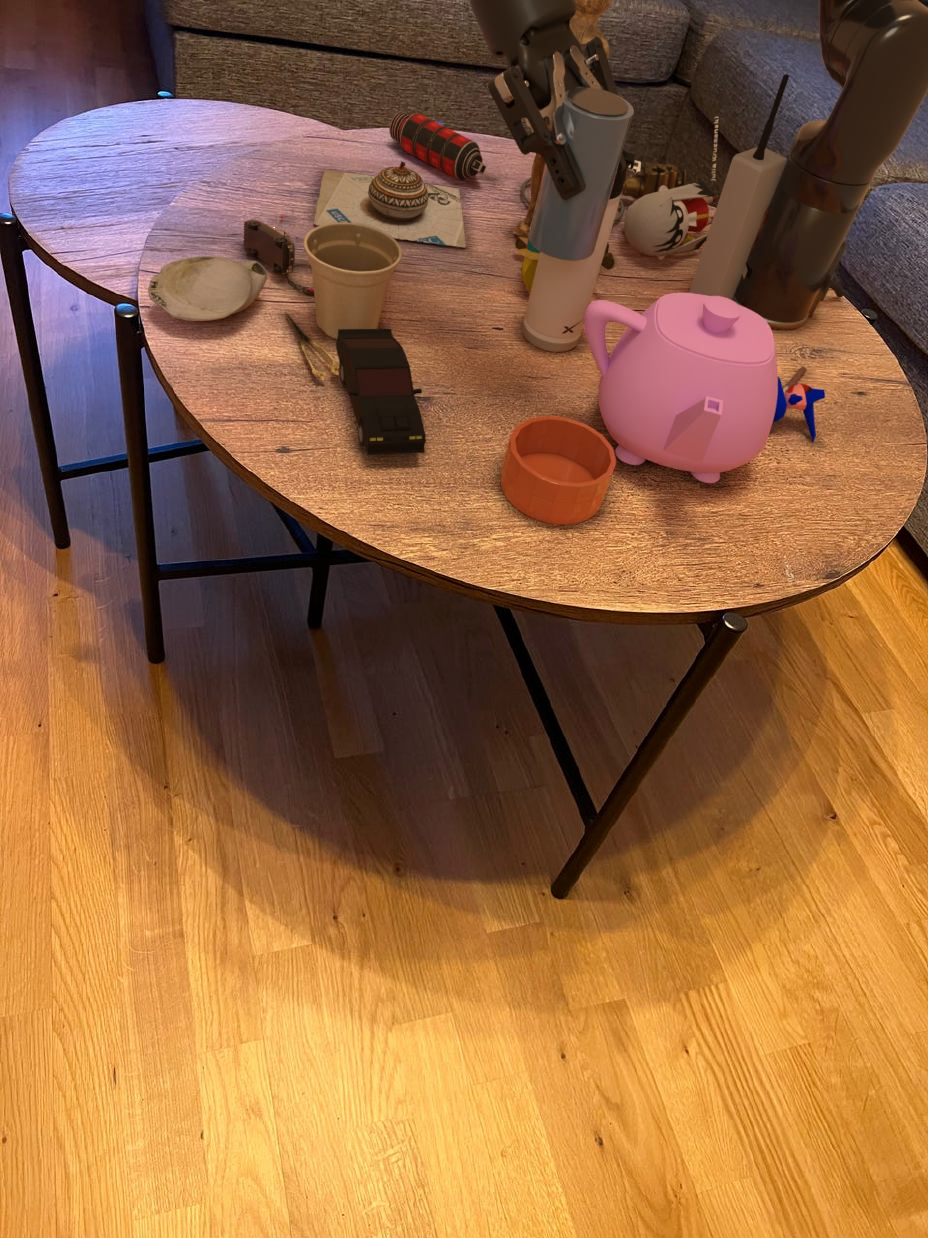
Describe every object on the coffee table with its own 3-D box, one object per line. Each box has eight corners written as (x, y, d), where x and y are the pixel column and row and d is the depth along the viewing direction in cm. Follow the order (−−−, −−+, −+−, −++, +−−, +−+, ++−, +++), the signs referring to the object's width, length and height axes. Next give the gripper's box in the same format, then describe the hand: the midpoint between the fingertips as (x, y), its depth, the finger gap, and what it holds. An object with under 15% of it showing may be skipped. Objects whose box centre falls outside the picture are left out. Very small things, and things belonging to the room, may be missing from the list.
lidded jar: (466, 250, 113) (475, 192, 109) (310, 227, 111) (313, 166, 107) (465, 201, 125) (474, 146, 120) (324, 179, 123) (327, 122, 118)
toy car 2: (357, 467, 86) (362, 422, 82) (326, 361, 95) (330, 316, 92) (430, 464, 88) (438, 419, 84) (393, 359, 97) (398, 315, 93)
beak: (277, 318, 99) (275, 306, 98) (302, 311, 100) (300, 299, 99) (317, 386, 93) (315, 374, 92) (343, 379, 93) (342, 367, 92)
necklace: (292, 300, 102) (292, 292, 101) (282, 265, 105) (282, 256, 105) (331, 299, 103) (332, 291, 102) (320, 264, 107) (320, 256, 106)
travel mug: (577, 359, 103) (633, 172, 88) (517, 343, 103) (562, 153, 88) (584, 328, 107) (638, 144, 92) (526, 313, 107) (571, 127, 92)
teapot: (541, 490, 88) (584, 347, 77) (563, 367, 101) (602, 230, 90) (753, 541, 88) (827, 406, 77) (747, 412, 101) (809, 281, 90)
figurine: (765, 389, 96) (743, 428, 99) (836, 407, 97) (812, 445, 100) (758, 362, 99) (737, 401, 102) (827, 380, 100) (804, 417, 104)
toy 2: (736, 246, 124) (662, 269, 116) (675, 239, 130) (601, 261, 122) (745, 114, 116) (667, 130, 108) (680, 114, 122) (601, 128, 114)
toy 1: (543, 268, 122) (475, 290, 111) (553, 167, 115) (483, 180, 105) (639, 290, 116) (577, 316, 105) (656, 185, 109) (592, 201, 99)
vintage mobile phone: (736, 299, 117) (818, 75, 98) (712, 311, 114) (791, 83, 96) (711, 285, 118) (788, 62, 100) (687, 296, 116) (761, 69, 97)
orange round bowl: (570, 447, 93) (582, 409, 90) (620, 513, 88) (635, 475, 85) (483, 463, 89) (492, 424, 86) (530, 533, 84) (541, 494, 81)
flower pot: (291, 300, 101) (294, 220, 95) (379, 298, 104) (388, 221, 98) (310, 354, 96) (315, 273, 89) (403, 350, 99) (413, 272, 92)
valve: (569, 192, 133) (573, 152, 130) (677, 198, 133) (684, 158, 130) (573, 208, 127) (578, 167, 124) (686, 213, 128) (694, 173, 125)
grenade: (421, 118, 131) (508, 163, 126) (404, 153, 132) (490, 199, 127) (396, 99, 125) (487, 145, 120) (379, 136, 126) (468, 183, 121)
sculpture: (572, 242, 120) (646, -40, 97) (548, 260, 116) (619, -29, 93) (525, 220, 121) (586, -62, 99) (499, 237, 117) (558, -52, 95)
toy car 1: (281, 241, 99) (344, 235, 104) (220, 204, 106) (283, 200, 111) (279, 279, 102) (342, 271, 106) (220, 240, 108) (281, 234, 113)
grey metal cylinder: (573, 223, 90) (610, 83, 81) (606, 258, 87) (648, 116, 77) (516, 227, 87) (548, 84, 78) (548, 263, 84) (584, 118, 75)
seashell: (288, 285, 95) (285, 327, 99) (251, 235, 98) (249, 278, 102) (171, 308, 89) (172, 351, 93) (135, 254, 93) (138, 298, 97)
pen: (771, 413, 102) (775, 406, 101) (764, 410, 102) (768, 402, 101) (808, 369, 109) (812, 362, 108) (801, 366, 109) (805, 359, 108)
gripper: (491, -41, 70) (586, 190, 75) (595, -65, 78) (673, 143, 84) (423, 14, 75) (516, 226, 80) (527, -14, 84) (604, 179, 89)
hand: (595, 183), depth 82 cm, fingers closed on grey metal cylinder, 6 cm apart
